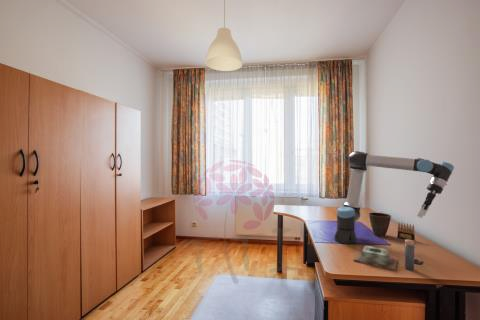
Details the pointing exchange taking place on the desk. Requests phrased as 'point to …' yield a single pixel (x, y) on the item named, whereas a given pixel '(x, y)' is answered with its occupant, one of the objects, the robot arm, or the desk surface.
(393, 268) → the socket
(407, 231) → the ammunition clip
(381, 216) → the plant pot
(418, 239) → the desk surface
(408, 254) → the peg
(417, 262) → the blender logo cutout
